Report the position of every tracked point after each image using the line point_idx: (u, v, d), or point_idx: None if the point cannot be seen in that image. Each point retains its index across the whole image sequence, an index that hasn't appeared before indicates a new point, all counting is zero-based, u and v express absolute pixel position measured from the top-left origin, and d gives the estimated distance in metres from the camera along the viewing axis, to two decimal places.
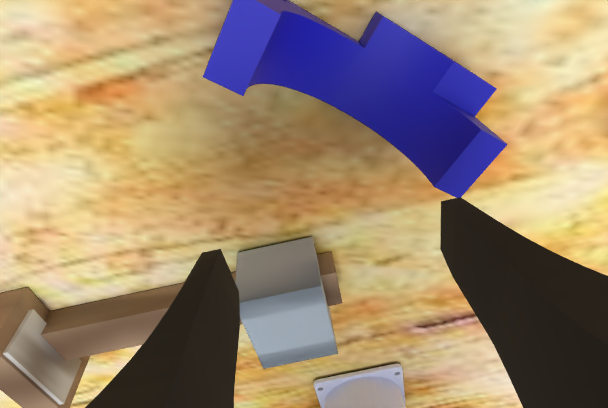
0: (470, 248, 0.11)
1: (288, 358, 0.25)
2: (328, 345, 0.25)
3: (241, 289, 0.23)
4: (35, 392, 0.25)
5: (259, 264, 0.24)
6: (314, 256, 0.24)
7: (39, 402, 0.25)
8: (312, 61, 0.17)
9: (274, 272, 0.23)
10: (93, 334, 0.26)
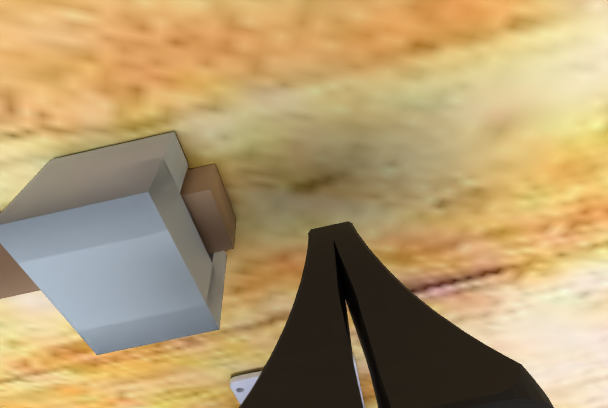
0: (343, 274, 0.11)
1: (133, 336, 0.15)
2: (198, 314, 0.15)
3: (16, 206, 0.12)
4: None
5: (71, 171, 0.14)
6: (162, 154, 0.13)
7: None
8: None
9: (86, 179, 0.13)
10: None
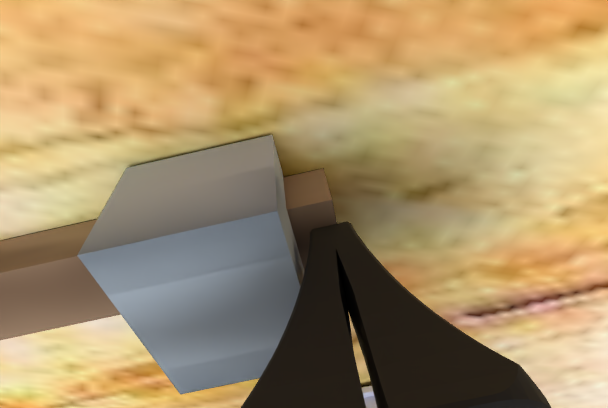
0: (342, 274, 0.11)
1: (226, 374, 0.13)
2: None
3: (105, 226, 0.10)
4: None
5: (160, 182, 0.12)
6: (271, 162, 0.11)
7: None
8: None
9: (184, 193, 0.11)
10: None
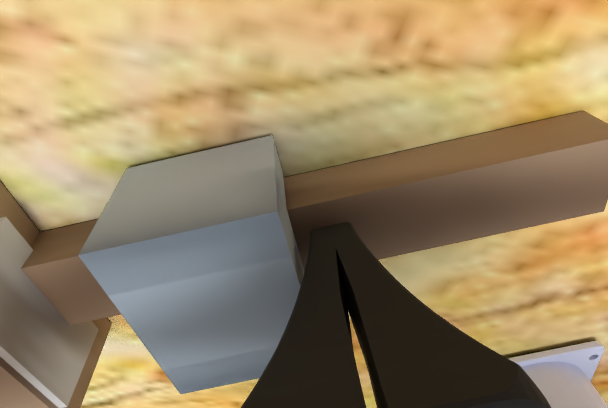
0: (342, 274, 0.11)
1: (226, 373, 0.13)
2: None
3: (106, 226, 0.10)
4: (9, 383, 0.12)
5: (160, 182, 0.12)
6: (271, 162, 0.11)
7: (18, 404, 0.13)
8: None
9: (185, 193, 0.11)
10: None
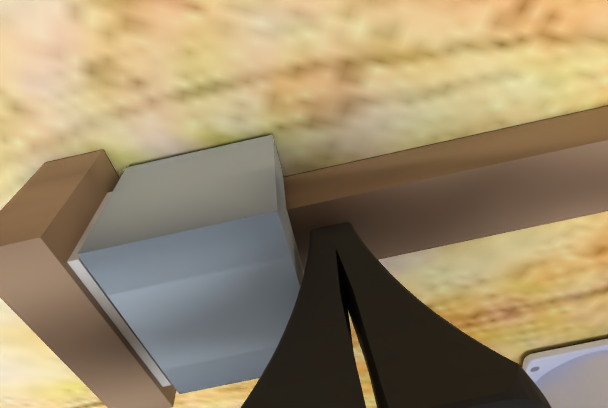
0: (343, 275, 0.11)
1: (225, 374, 0.13)
2: None
3: (105, 226, 0.10)
4: (124, 359, 0.12)
5: (159, 181, 0.12)
6: (271, 162, 0.11)
7: (126, 381, 0.13)
8: None
9: (185, 192, 0.11)
10: None
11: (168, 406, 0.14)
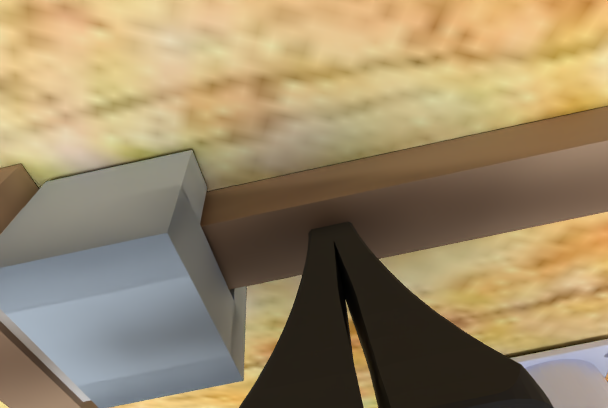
0: (343, 274, 0.11)
1: (144, 389, 0.13)
2: (220, 365, 0.12)
3: (4, 244, 0.10)
4: (35, 375, 0.12)
5: (70, 198, 0.12)
6: (180, 179, 0.11)
7: (42, 397, 0.13)
8: None
9: (89, 210, 0.11)
10: None
11: None
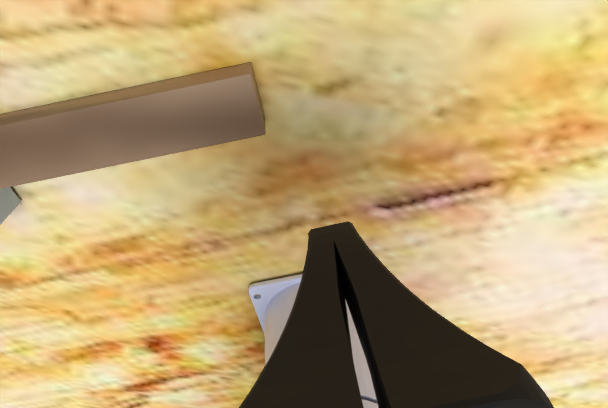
0: (344, 274, 0.11)
1: None
2: None
3: None
4: None
5: None
6: None
7: None
8: None
9: None
10: None
11: None
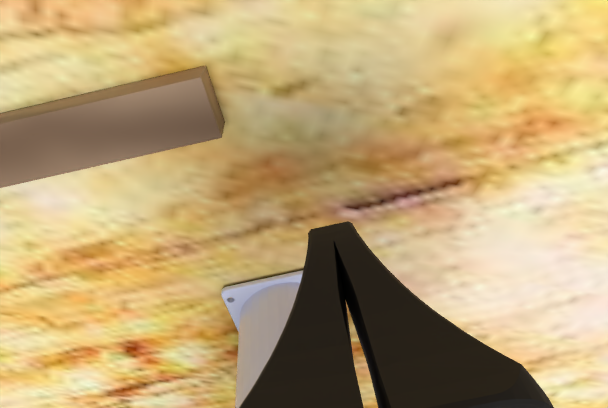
0: (344, 274, 0.11)
1: None
2: None
3: None
4: None
5: None
6: None
7: None
8: None
9: None
10: None
11: None
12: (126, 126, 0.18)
